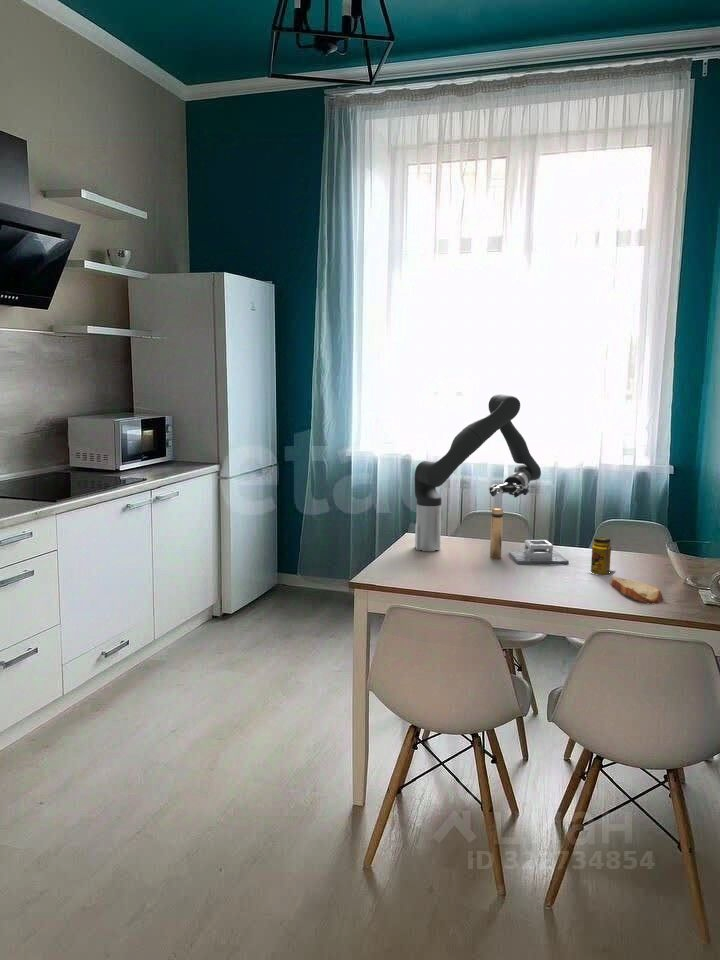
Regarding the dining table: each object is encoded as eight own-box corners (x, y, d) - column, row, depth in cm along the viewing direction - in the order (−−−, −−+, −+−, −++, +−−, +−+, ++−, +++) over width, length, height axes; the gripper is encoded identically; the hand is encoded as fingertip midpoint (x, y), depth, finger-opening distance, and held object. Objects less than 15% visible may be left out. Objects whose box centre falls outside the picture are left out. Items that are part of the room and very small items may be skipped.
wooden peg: (490, 559, 265) (492, 510, 262) (488, 556, 269) (490, 507, 267) (502, 559, 265) (504, 510, 262) (500, 556, 269) (502, 508, 267)
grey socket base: (517, 564, 258) (518, 547, 257) (508, 554, 272) (509, 538, 271) (568, 564, 259) (569, 547, 258) (556, 554, 273) (557, 538, 272)
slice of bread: (613, 582, 239) (614, 571, 239) (671, 592, 229) (672, 581, 228) (594, 595, 225) (595, 583, 224) (656, 606, 214) (657, 594, 214)
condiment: (586, 573, 248) (588, 538, 246) (594, 568, 255) (596, 534, 253) (608, 577, 244) (610, 541, 242) (615, 571, 251) (618, 537, 249)
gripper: (497, 473, 290) (484, 484, 276) (533, 474, 283) (522, 485, 269) (498, 491, 291) (485, 503, 278) (534, 493, 285) (523, 504, 271)
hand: (503, 494), depth 273 cm, fingers open, 8 cm apart
